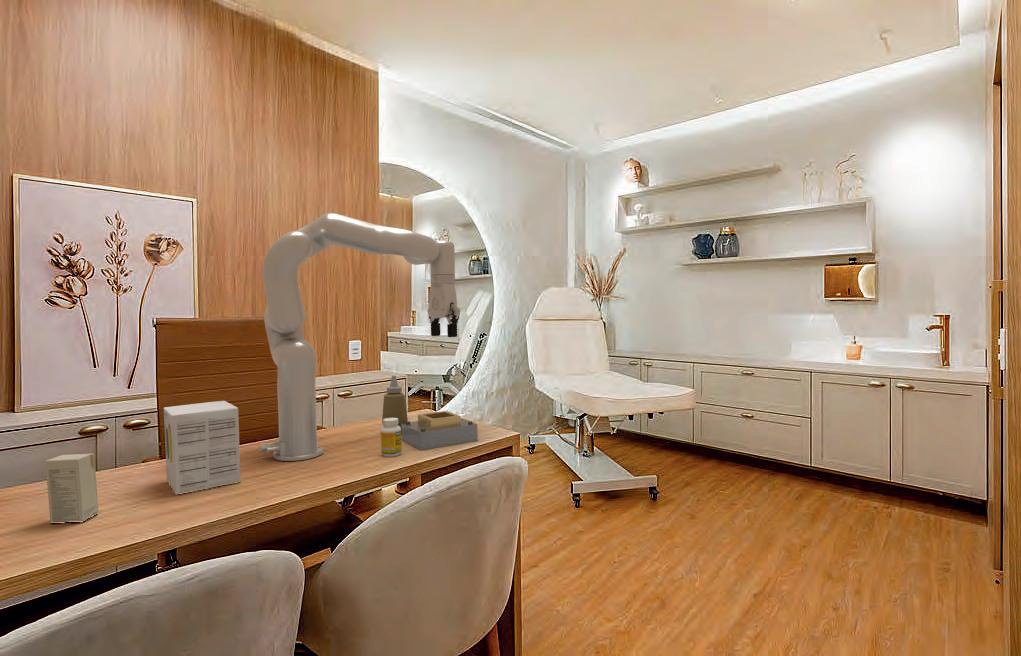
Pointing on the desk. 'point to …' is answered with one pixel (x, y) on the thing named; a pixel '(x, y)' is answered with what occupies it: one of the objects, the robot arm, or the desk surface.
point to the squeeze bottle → (395, 403)
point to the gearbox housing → (438, 430)
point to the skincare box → (72, 487)
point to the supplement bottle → (390, 438)
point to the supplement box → (201, 445)
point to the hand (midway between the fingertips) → (443, 336)
